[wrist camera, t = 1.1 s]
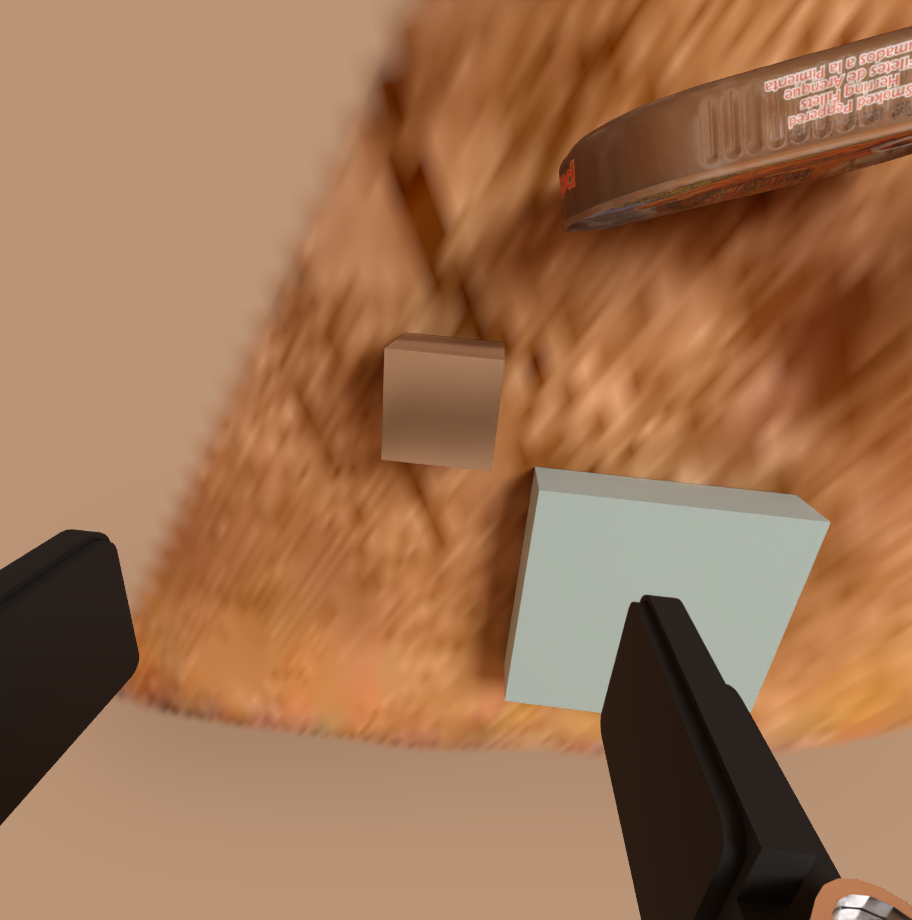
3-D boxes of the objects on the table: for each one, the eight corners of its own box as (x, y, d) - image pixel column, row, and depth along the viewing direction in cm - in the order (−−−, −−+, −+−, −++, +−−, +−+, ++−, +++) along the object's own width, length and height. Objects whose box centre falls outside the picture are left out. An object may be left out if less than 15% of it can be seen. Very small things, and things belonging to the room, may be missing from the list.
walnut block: (405, 332, 25) (384, 348, 21) (503, 342, 25) (505, 360, 20) (401, 425, 27) (381, 459, 22) (492, 435, 27) (491, 471, 22)
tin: (554, 241, 23) (582, 231, 15) (543, 165, 22) (569, 112, 14) (914, 157, 21) (1163, 95, 13) (923, 68, 20) (1201, -58, 12)
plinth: (535, 466, 27) (539, 490, 24) (796, 495, 27) (830, 522, 24) (504, 662, 32) (504, 700, 30) (721, 690, 32) (742, 730, 29)
